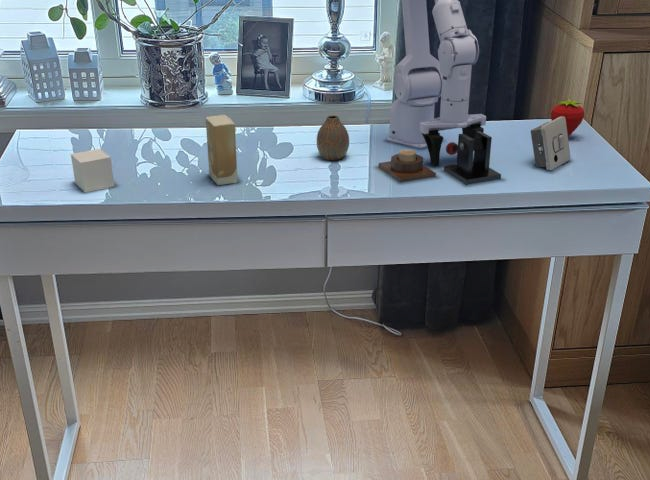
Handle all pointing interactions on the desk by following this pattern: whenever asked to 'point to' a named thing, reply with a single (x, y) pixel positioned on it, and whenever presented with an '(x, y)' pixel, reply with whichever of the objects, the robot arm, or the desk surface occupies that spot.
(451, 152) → the red knob lever
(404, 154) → the button
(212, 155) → the cosmetic box
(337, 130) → the vase
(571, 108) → the strawberry
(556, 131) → the electrical switch
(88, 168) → the beige cube
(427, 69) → the robot arm
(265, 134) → the desk surface
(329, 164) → the desk surface
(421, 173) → the control block
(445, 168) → the black lever base
